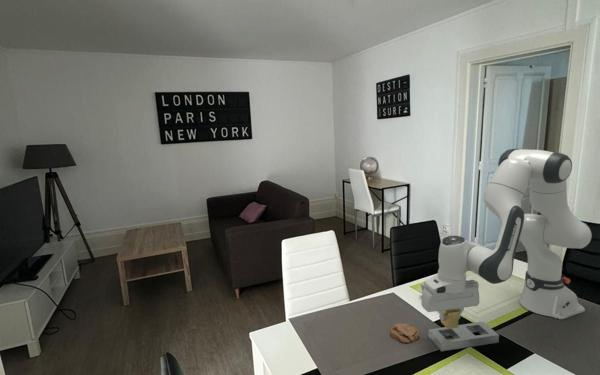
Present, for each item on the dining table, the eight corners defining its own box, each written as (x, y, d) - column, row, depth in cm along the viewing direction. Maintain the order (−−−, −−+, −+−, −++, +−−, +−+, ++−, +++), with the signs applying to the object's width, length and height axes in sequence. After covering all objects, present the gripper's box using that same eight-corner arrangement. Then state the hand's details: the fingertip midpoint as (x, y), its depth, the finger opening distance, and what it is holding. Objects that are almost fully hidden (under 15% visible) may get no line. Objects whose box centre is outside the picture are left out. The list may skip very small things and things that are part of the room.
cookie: (424, 341, 115) (424, 334, 114) (397, 346, 113) (397, 338, 113) (410, 325, 124) (411, 318, 124) (385, 329, 123) (385, 322, 122)
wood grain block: (451, 320, 114) (451, 305, 113) (458, 327, 110) (459, 311, 109) (441, 322, 114) (441, 307, 113) (447, 328, 110) (448, 313, 109)
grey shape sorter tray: (482, 328, 120) (482, 321, 119) (498, 342, 112) (499, 334, 111) (428, 336, 117) (428, 329, 116) (441, 351, 109) (441, 343, 108)
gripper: (472, 275, 114) (470, 310, 116) (419, 281, 111) (418, 317, 113) (485, 283, 108) (482, 320, 110) (429, 290, 105) (428, 327, 107)
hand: (449, 318), depth 112 cm, fingers closed on wood grain block, 4 cm apart
